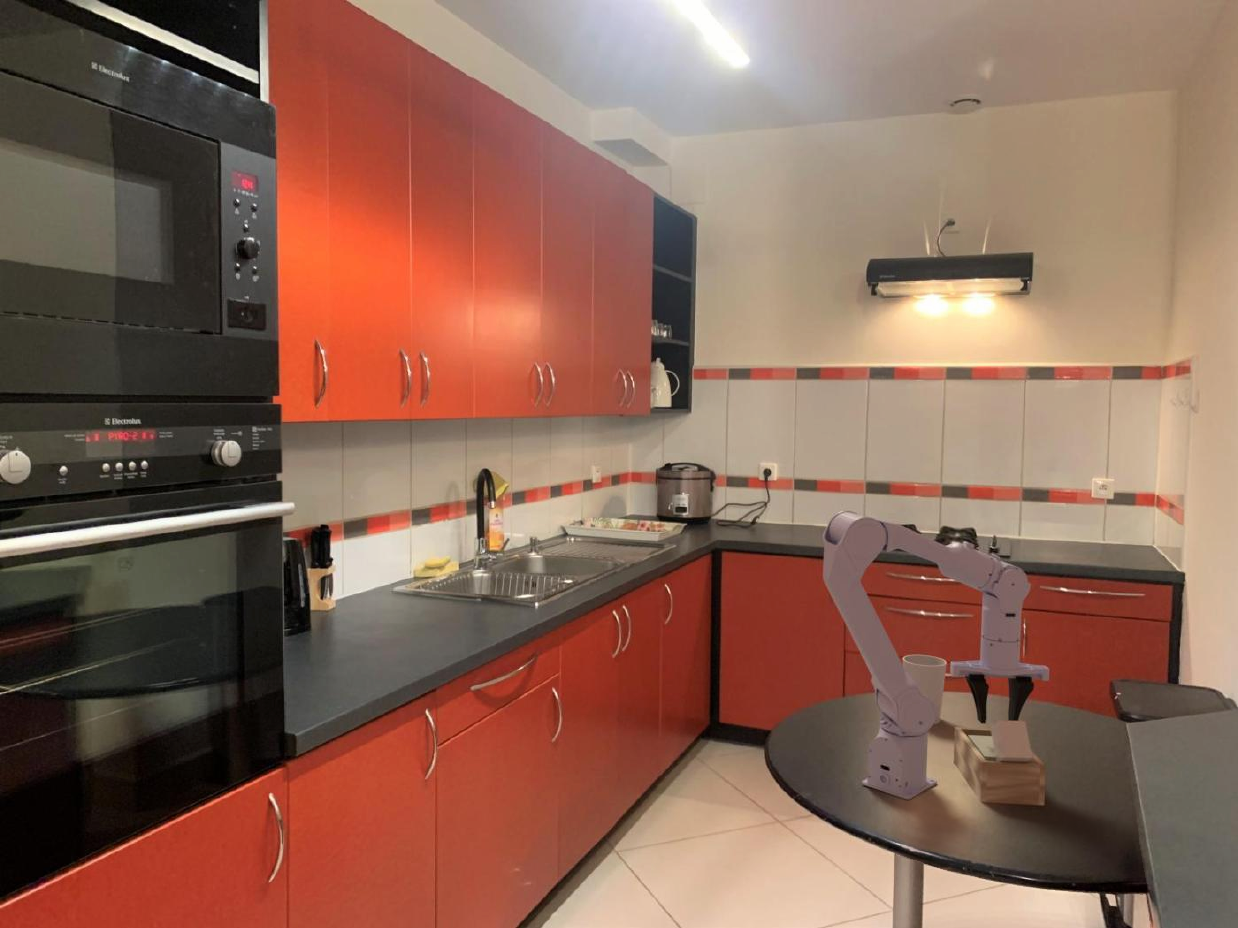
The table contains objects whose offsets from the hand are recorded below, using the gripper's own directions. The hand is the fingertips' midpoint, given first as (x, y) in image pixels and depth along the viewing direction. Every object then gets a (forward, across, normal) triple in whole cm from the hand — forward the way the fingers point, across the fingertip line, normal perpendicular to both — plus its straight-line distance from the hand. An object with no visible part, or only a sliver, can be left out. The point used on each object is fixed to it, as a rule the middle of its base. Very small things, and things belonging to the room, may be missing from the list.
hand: (997, 722), depth 142 cm
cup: (+10, +5, -28) cm, 30 cm away
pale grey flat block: (+4, 0, +3) cm, 5 cm away
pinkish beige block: (+3, 0, +8) cm, 9 cm away
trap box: (+10, 0, +1) cm, 10 cm away
